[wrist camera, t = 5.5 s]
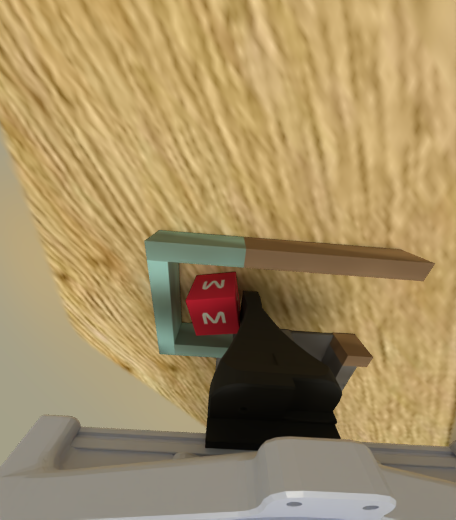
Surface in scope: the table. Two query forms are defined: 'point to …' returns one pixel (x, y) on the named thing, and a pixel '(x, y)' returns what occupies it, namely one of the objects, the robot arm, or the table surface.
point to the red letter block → (214, 304)
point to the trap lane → (273, 258)
